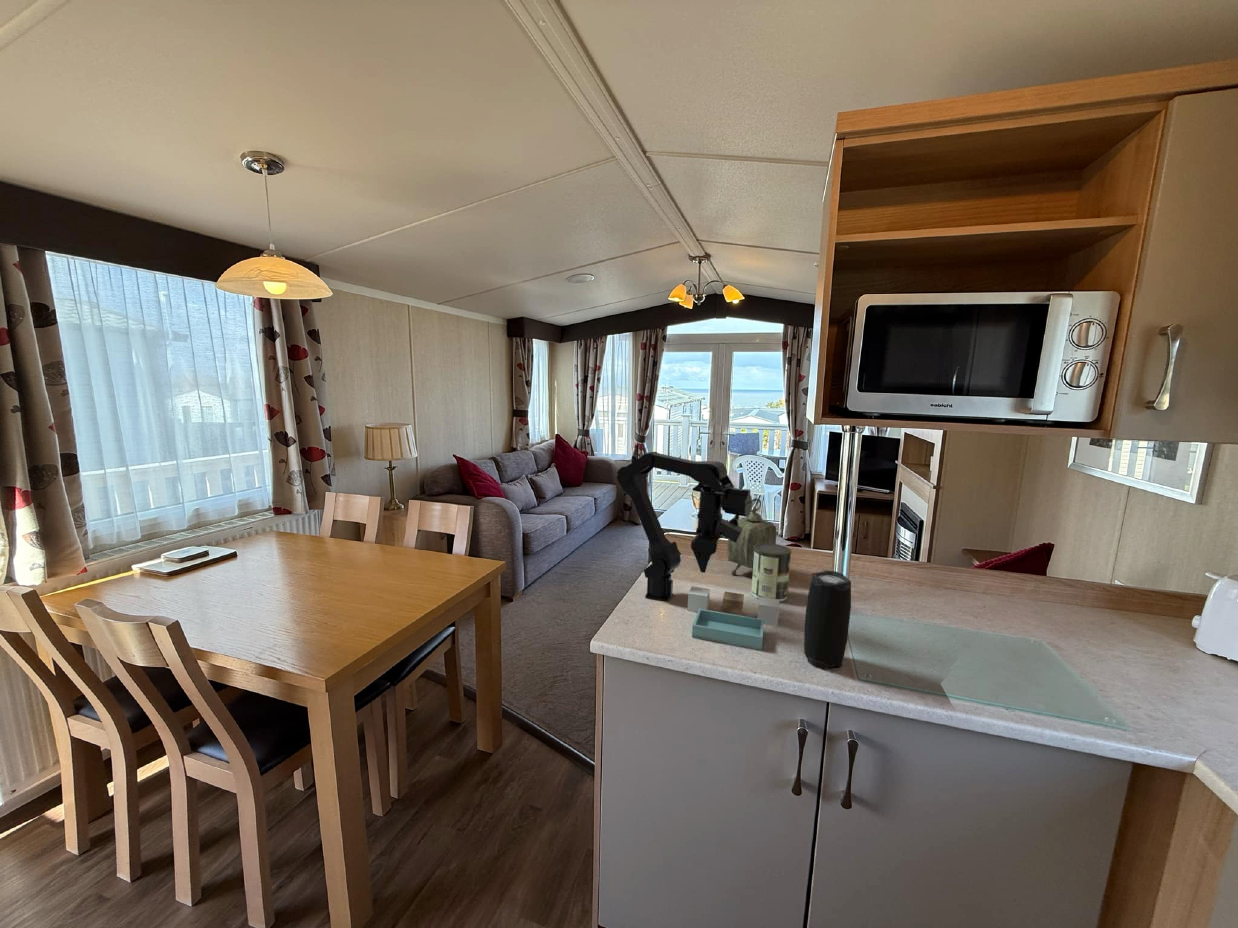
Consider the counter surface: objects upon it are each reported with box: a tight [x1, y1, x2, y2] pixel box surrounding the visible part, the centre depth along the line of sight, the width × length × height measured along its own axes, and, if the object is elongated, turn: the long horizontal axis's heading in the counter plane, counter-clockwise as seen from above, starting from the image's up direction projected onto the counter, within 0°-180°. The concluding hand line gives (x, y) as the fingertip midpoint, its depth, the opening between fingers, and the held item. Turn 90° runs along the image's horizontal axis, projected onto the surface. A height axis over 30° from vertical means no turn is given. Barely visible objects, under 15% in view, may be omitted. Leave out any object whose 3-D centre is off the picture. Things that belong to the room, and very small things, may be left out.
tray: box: [691, 609, 764, 651], centre depth 117 cm, size 16×10×3 cm, turn 72°
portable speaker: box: [803, 569, 852, 670], centre depth 105 cm, size 9×9×20 cm
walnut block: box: [721, 591, 745, 616], centre depth 128 cm, size 5×5×5 cm
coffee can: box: [750, 543, 792, 603], centre depth 140 cm, size 10×10×14 cm
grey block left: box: [687, 586, 711, 613], centre depth 130 cm, size 5×5×5 cm
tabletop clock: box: [726, 498, 777, 576], centre depth 155 cm, size 14×9×25 cm, turn 130°
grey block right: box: [757, 597, 780, 627], centre depth 125 cm, size 5×5×5 cm
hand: (705, 566), depth 129 cm, fingers open, 9 cm apart
